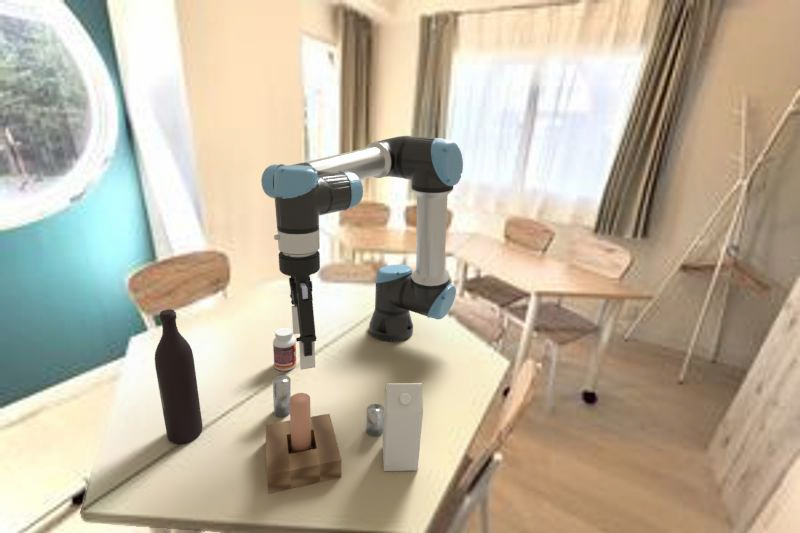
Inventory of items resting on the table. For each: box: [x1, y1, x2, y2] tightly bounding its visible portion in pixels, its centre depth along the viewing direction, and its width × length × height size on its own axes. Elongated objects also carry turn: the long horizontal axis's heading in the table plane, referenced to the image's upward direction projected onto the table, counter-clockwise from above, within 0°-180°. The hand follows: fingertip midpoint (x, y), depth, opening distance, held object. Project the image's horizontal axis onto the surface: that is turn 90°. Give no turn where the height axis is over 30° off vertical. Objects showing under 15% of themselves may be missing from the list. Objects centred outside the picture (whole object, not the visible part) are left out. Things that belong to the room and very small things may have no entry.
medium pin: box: [272, 374, 292, 418], centre depth 99 cm, size 4×4×9 cm
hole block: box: [264, 413, 342, 494], centre depth 86 cm, size 14×14×4 cm
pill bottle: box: [272, 327, 297, 372], centre depth 117 cm, size 6×6×11 cm
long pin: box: [289, 392, 312, 454], centre depth 84 cm, size 4×4×15 cm
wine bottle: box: [154, 308, 204, 445], centre depth 87 cm, size 7×7×30 cm
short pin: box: [365, 403, 384, 438], centre depth 95 cm, size 4×4×6 cm
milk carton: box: [381, 382, 424, 472], centre depth 85 cm, size 7×7×19 cm
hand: (303, 349), depth 84 cm, fingers open, 13 cm apart
